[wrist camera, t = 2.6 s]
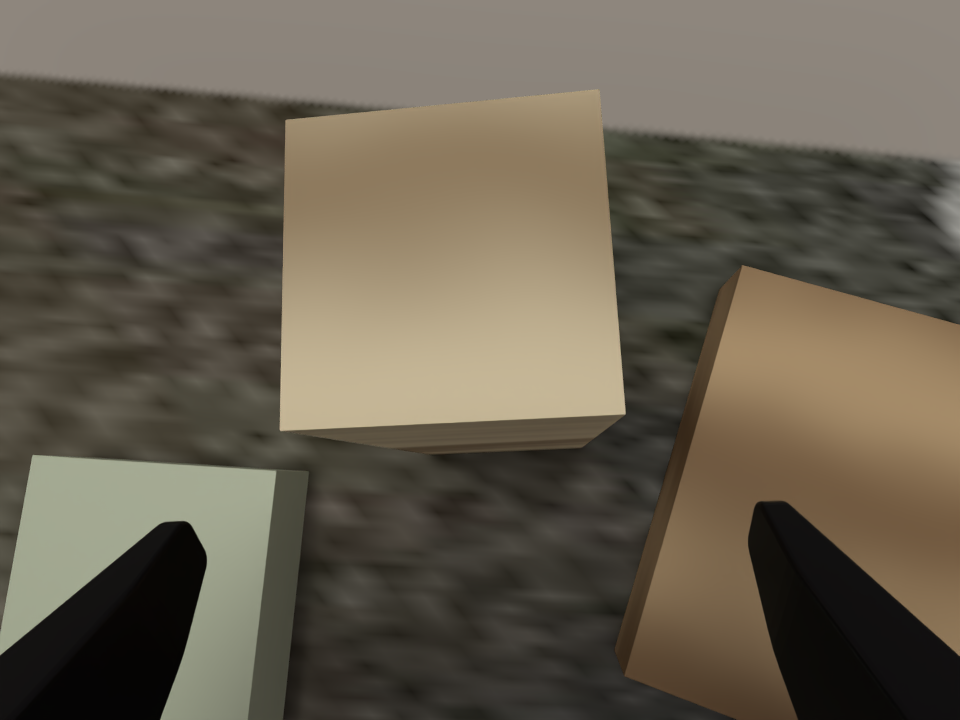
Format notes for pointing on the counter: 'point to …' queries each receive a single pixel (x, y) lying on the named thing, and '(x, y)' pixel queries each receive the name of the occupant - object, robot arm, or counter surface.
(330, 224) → the beech post
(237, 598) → the sage block
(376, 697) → the counter surface
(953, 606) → the oak block
